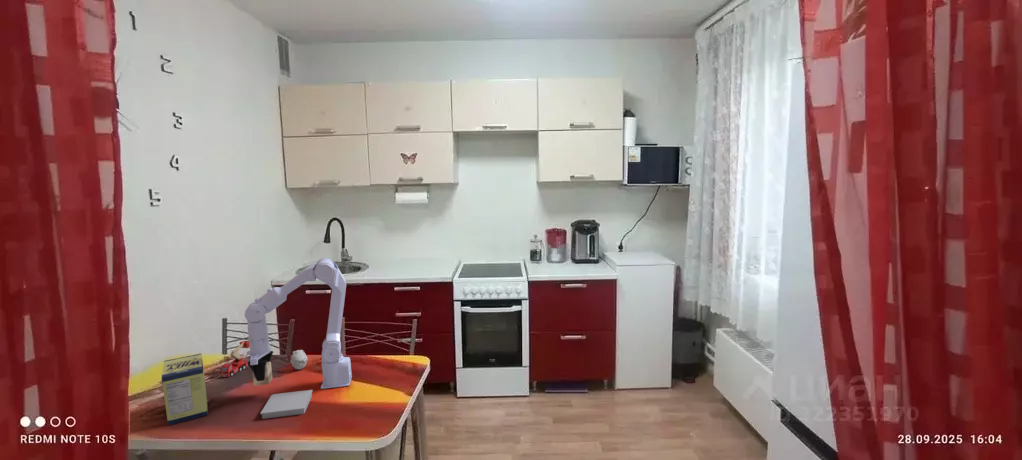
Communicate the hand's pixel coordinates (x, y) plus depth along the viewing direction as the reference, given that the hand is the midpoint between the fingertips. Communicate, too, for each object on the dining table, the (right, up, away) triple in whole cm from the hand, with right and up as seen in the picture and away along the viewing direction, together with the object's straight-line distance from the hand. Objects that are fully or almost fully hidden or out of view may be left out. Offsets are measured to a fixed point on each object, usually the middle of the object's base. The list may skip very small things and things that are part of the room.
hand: (262, 377), depth 160 cm
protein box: (-19, -8, -8) cm, 23 cm away
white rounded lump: (+3, -4, +22) cm, 22 cm away
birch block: (0, -2, 0) cm, 2 cm away
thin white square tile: (+12, -8, -8) cm, 16 cm away
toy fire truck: (-21, -4, +22) cm, 30 cm away
